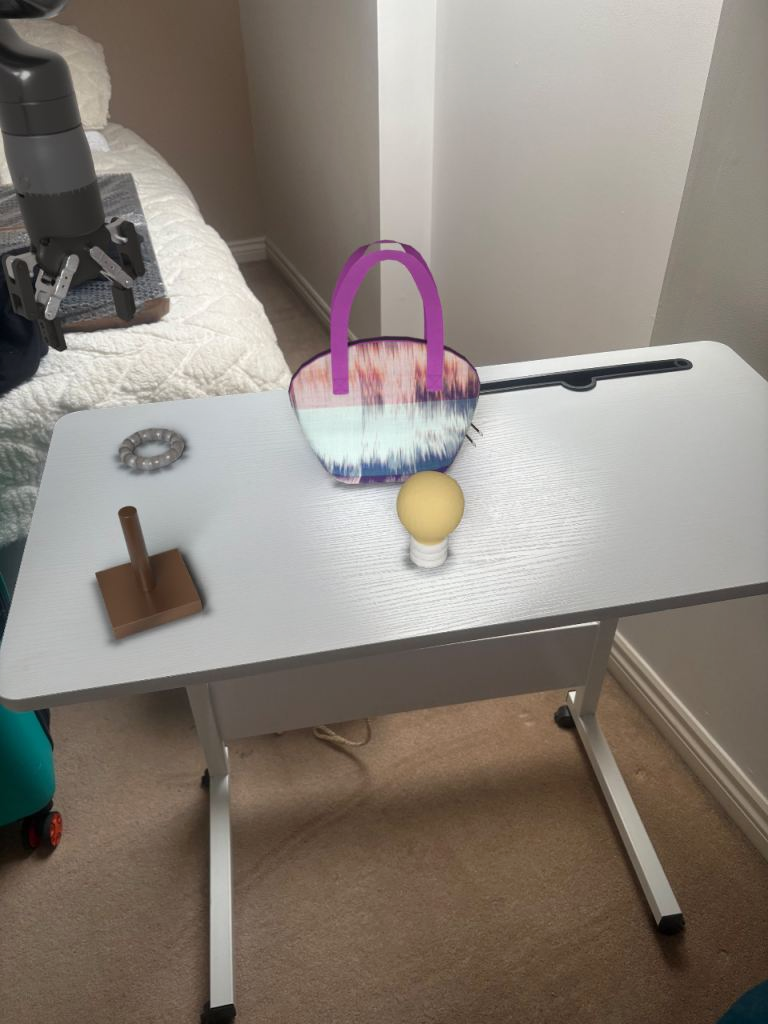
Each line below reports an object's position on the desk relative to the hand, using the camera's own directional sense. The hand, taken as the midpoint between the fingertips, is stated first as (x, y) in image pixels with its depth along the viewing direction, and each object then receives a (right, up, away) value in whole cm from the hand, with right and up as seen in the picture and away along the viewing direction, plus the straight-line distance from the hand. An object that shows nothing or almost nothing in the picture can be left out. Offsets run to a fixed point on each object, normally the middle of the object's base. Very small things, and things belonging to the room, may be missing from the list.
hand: (93, 333), depth 88 cm
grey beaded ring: (+4, -12, +7) cm, 14 cm away
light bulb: (+35, -24, -6) cm, 43 cm away
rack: (+9, -27, -10) cm, 30 cm away
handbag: (+31, -13, +7) cm, 35 cm away
